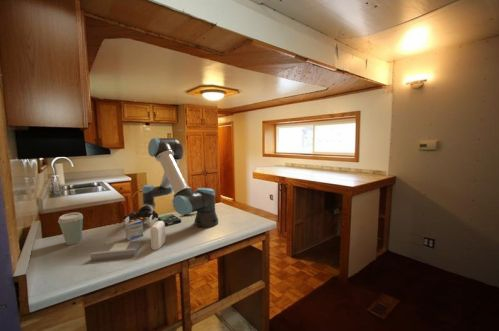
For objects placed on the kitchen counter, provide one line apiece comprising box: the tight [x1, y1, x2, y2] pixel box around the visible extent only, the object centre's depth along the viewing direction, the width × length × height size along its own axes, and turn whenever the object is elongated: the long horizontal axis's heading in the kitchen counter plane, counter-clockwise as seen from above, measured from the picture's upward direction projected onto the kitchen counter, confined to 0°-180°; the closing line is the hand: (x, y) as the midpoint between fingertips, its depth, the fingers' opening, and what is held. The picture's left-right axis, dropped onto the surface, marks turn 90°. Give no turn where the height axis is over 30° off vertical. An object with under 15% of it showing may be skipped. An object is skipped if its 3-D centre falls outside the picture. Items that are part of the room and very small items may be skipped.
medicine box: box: [124, 219, 144, 241], centre depth 126 cm, size 8×4×9 cm, turn 149°
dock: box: [90, 240, 143, 262], centre depth 111 cm, size 18×15×3 cm
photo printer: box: [150, 220, 166, 251], centre depth 116 cm, size 10×4×12 cm, turn 179°
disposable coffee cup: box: [57, 212, 84, 246], centre depth 120 cm, size 11×11×15 cm
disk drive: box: [157, 214, 182, 227], centre depth 152 cm, size 10×3×15 cm
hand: (137, 221), depth 135 cm, fingers open, 13 cm apart
